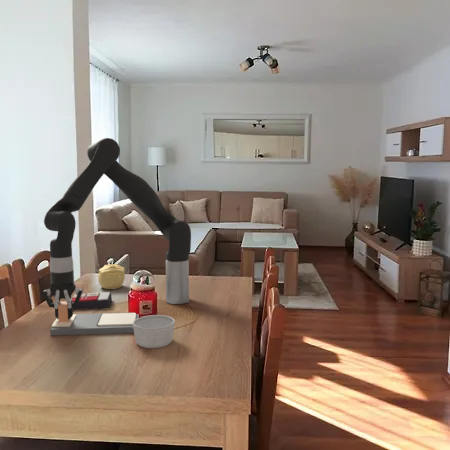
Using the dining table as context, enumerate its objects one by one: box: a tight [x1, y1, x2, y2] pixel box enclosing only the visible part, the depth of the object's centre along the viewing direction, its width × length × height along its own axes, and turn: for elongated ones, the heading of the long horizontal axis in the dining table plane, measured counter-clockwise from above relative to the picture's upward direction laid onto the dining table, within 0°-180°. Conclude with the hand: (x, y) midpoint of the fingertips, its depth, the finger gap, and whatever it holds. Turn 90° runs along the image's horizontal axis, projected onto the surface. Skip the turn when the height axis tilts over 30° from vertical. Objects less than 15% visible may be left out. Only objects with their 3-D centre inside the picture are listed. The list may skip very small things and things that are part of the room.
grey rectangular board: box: [49, 312, 139, 336], centre depth 176 cm, size 28×16×2 cm, turn 96°
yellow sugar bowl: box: [97, 263, 126, 290], centre depth 227 cm, size 11×12×11 cm
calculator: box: [71, 291, 113, 310], centre depth 201 cm, size 11×4×15 cm
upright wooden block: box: [51, 300, 78, 328], centre depth 175 cm, size 6×12×6 cm, turn 6°
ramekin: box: [133, 314, 176, 349], centre depth 162 cm, size 13×13×7 cm
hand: (64, 318), depth 175 cm, fingers closed on upright wooden block, 3 cm apart
